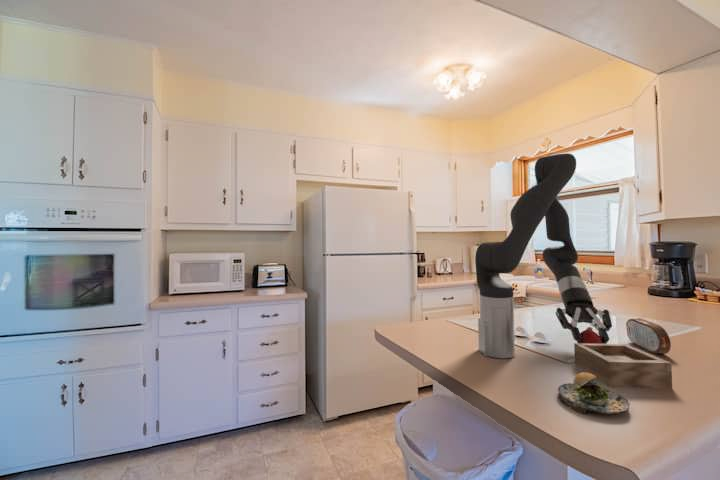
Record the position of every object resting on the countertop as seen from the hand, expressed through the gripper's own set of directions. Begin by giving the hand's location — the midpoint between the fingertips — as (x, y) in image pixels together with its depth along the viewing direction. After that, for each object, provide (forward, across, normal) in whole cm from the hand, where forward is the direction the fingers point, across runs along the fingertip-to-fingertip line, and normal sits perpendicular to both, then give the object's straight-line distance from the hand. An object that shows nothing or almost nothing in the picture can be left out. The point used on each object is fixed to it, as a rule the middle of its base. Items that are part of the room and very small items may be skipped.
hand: (592, 341), depth 87 cm
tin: (-5, +19, +11) cm, 22 cm away
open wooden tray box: (+12, 0, -6) cm, 13 cm away
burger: (+24, -12, -17) cm, 32 cm away
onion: (+2, 0, +4) cm, 5 cm away
